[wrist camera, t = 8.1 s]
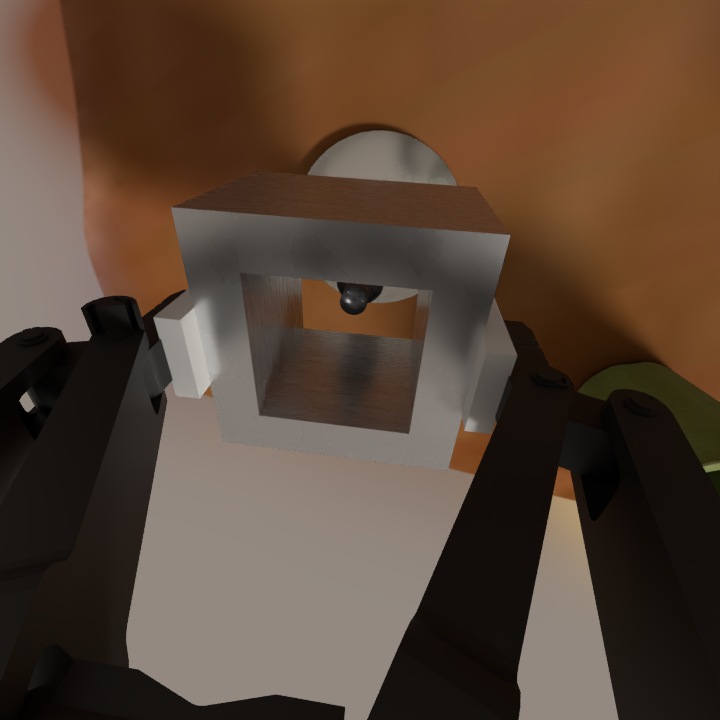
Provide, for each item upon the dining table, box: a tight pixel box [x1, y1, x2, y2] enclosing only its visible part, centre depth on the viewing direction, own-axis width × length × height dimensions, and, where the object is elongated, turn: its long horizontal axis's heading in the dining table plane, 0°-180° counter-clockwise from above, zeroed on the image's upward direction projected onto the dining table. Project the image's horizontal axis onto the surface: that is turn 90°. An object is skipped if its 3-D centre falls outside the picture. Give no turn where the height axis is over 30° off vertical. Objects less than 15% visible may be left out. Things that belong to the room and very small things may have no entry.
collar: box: [171, 171, 511, 470], centre depth 14 cm, size 8×8×6 cm
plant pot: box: [578, 362, 720, 496], centre depth 23 cm, size 12×12×11 cm
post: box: [307, 130, 457, 315], centre depth 19 cm, size 10×10×11 cm
